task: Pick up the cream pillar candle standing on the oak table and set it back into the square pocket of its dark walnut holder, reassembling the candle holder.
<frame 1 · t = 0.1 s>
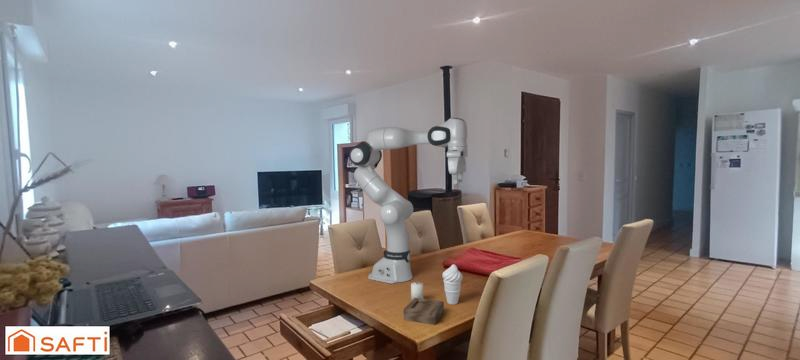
hand: (457, 183, 170), 48 cm above the table, fingers open, 8 cm apart
holder: (424, 315, 139), on the table
soft serve ice cream cone: (452, 303, 151), on the table
candle: (417, 301, 153), on the table
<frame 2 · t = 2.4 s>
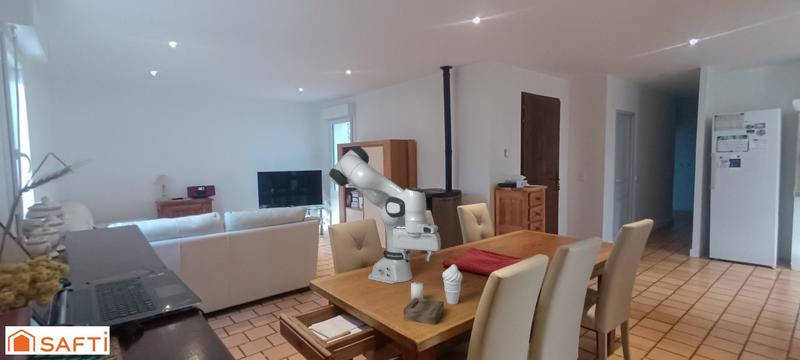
hand: (416, 260, 152), 18 cm above the table, fingers open, 8 cm apart
nothing on the table moved.
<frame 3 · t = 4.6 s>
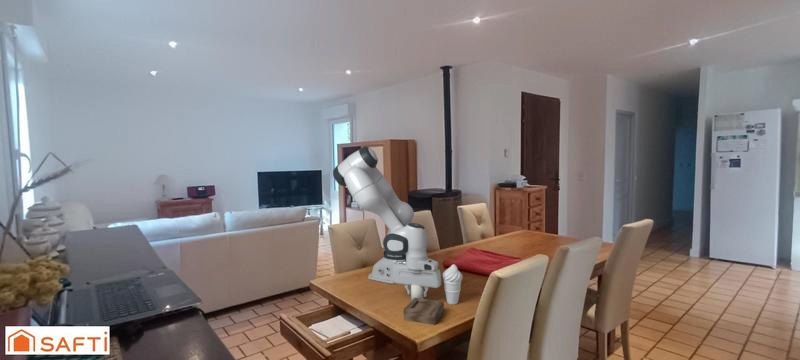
hand: (417, 295, 152), 3 cm above the table, fingers closed on candle, 5 cm apart
candle: (417, 301, 153), on the table, touching gripper
everything else where it was.
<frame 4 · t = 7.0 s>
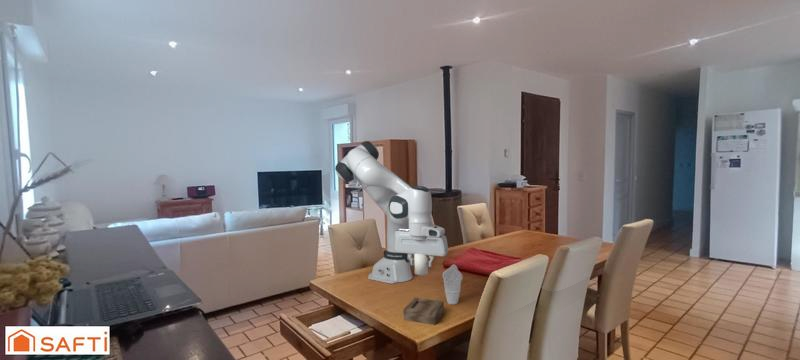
hand: (421, 265, 138), 19 cm above the table, fingers closed on candle, 5 cm apart
candle: (421, 273, 138), point 16 cm above the table, touching gripper
everything else where it was.
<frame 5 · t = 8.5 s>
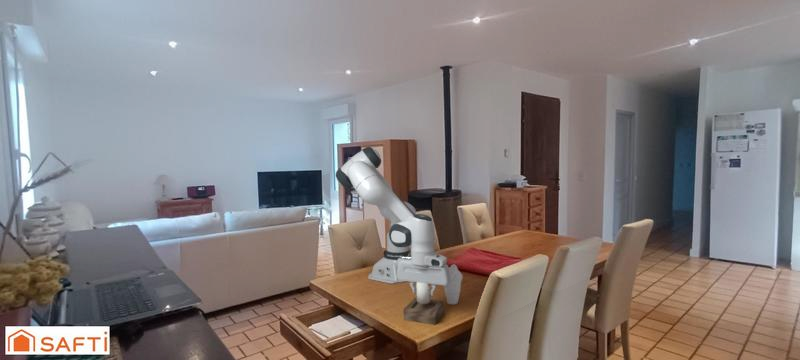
hand: (423, 294, 138), 8 cm above the table, fingers closed on candle, 5 cm apart
candle: (423, 301, 139), point 6 cm above the table, touching gripper
everything else where it was.
when the fingers open (7 cm above the table, at t = 9.6 s): candle stays where it is, resting on holder.
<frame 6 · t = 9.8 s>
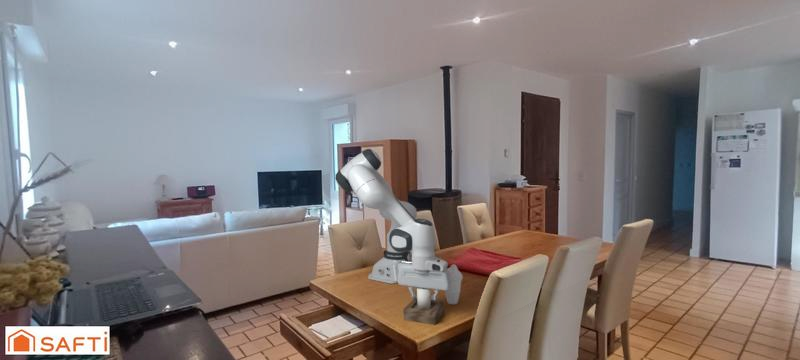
hand: (423, 298, 139), 7 cm above the table, fingers open, 6 cm apart
candle: (424, 307, 139), point 3 cm above the table, touching holder
everything else where it was.
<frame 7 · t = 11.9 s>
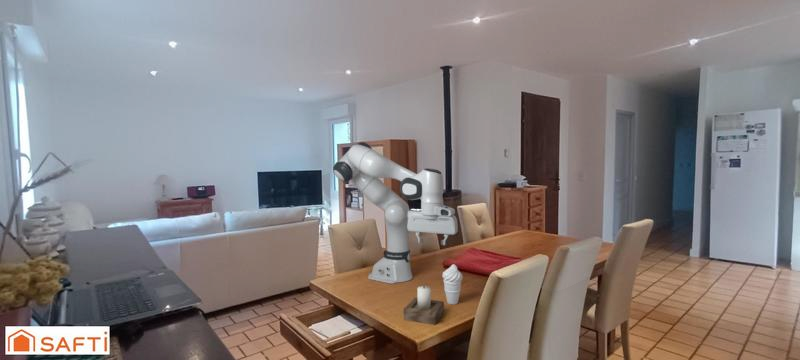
hand: (431, 243, 147), 25 cm above the table, fingers open, 8 cm apart
nothing on the table moved.
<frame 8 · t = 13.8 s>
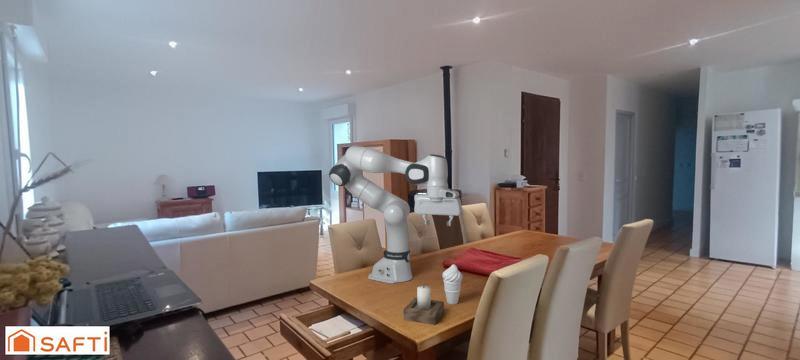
hand: (437, 225, 156), 31 cm above the table, fingers open, 8 cm apart
nothing on the table moved.
at the end: candle 0.1 cm off-centre on the holder, point 3.1 cm above the holder's base; candle tilted 1°; the gripper is holding nothing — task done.
